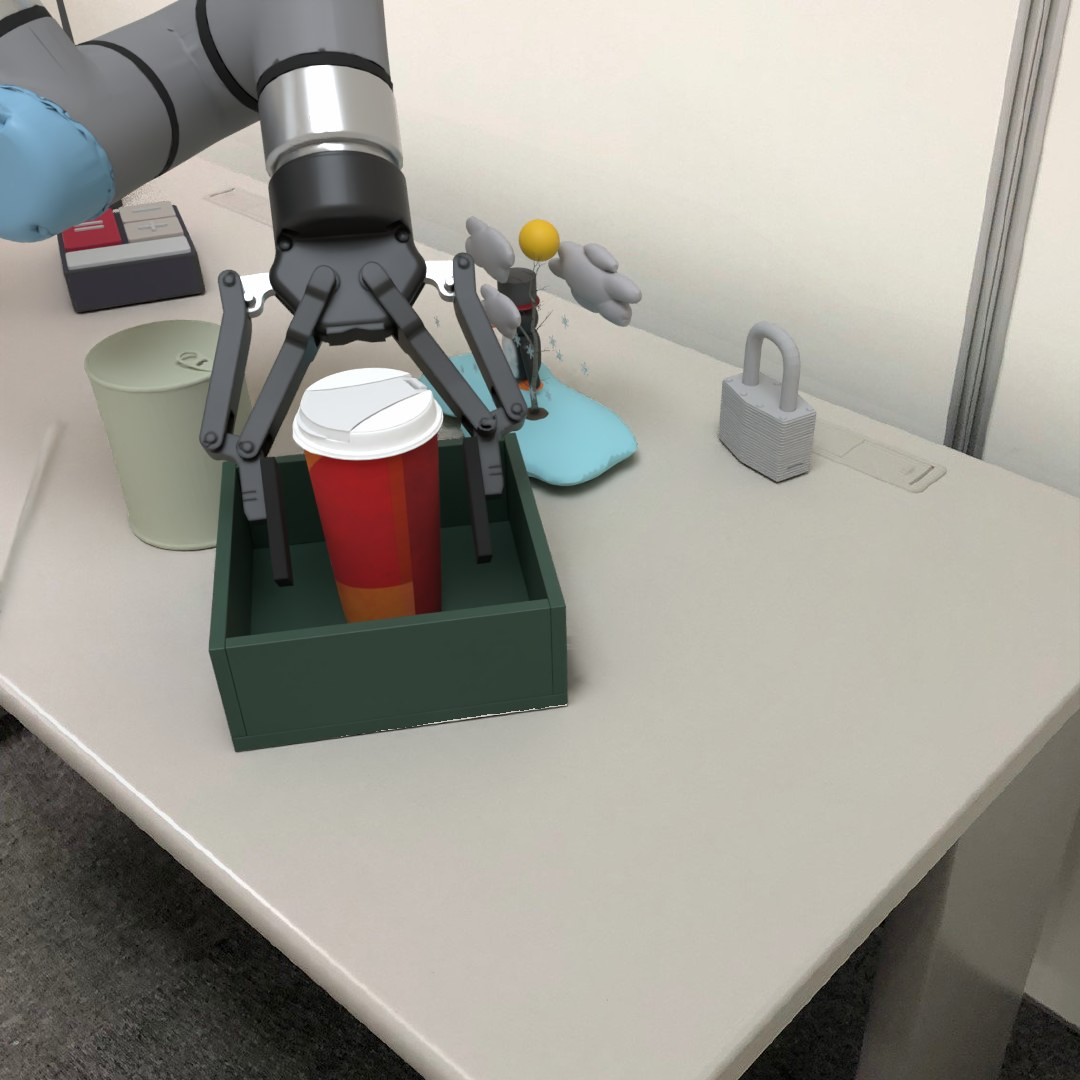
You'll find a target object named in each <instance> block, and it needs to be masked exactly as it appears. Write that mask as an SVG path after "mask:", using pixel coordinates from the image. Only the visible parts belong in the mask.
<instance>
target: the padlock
mask: <svg viewBox="0 0 1080 1080" xmlns="http://www.w3.org/2000/svg"><path fill="white" fill-rule="evenodd" d="M765 339H767V340H769V341H771V342H772V343H773V344H774V345H775V346H776V347H777V348H778V350H779V352H780V354H781V357H782V379H781V380H782V381H780V380H777V379H775V378H773V377H771V376H770V375H768V374H766V373H763V372H762V371H760V368H761V359H762V358H761V357H762V350H763V349H762V347H763V345H764V340H765ZM800 355H801V354H800V351H799V348H798V345H797V343H796V341H795V339H794V337H793V336H792V335H791V334H789V332H788V331H787V330H786V329H785V328H783V327H782V326H781V325H779V324H777V323H775V322H772V321H766V320H761V321H758V322H757V323H754V324H753V325H752V326H751V327H750V329H749V331H748V333H747V336H746V341H745V347H744V359H743V368H742V369H743V372H741V373H737V374H734V375H731V376H727V377H724V378H723V379H722V381H721V382H722V383H721V396H720V409H719V410H720V411H719V424H718V436H717V437H718V439H719V440H720V442H722V443H723V444H724V446H725V447H727V449H729V451H730V452H731V453H732V454H733V455H734V457H735V458H737V460H738V461H739V462H741V463H742V464H744V465H746V466H748V467H750V468H751V469H753V470H755V471H757V472H759V473H760V474H762V475H764V476H765V477H767V478H769V479H771V480H772V481H773V482H777V483H779V482H782V481H784V480H787V479H791V478H793V477H796V476H799V475H801V474H804V473H807V472H809V471H810V468H811V467H810V466H811V460H812V459H811V458H812V452H813V446H814V443H813V442H814V437H815V428H816V427H815V426H816V422H817V410H816V409H815V407H813V406H812V405H811V404H810V403H809V402H808V401H806V400H805V398H803V397H802V396H801V395H800V394H799V385H800V378H801V377H800V376H801V362H802V361H801V356H800Z"/></svg>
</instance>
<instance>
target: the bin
mask: <svg viewBox="0 0 1080 1080" xmlns="http://www.w3.org/2000/svg"><path fill="white" fill-rule="evenodd" d="M463 438H464V437H458V438H447V439H438V460H439V495H440V531H441V577H442V602H441V612H435V613H427V614H419V615H411V616H403V617H395V618H387V619H378V620H370V621H362V622H354V623H347V621H346V618H345V615H344V612H343V608H342V604H341V601H340V597H339V593H338V589H337V585H336V581H335V577H334V573H333V569H332V565H331V561H330V557H329V553H328V549H327V544H326V540H325V536H324V532H323V528H322V524H321V520H320V515H319V511H318V507H317V503H316V499H315V495H314V490H313V486H312V482H311V478H310V474H309V470H308V465H307V461H306V457H305V453H298V454H288V455H277V456H276V455H275V456H274V457H275V459H276V461H277V463H278V465H279V467H280V470H281V479H282V488H283V496H284V505H285V514H286V522H287V531H288V539H289V548H290V557H291V565H292V574H293V582H294V586H286V587H279V586H278V585H277V584H276V582H275V581H274V580H273V571H272V562H271V554H270V545H269V536H268V527H267V524H264V525H254V526H253V525H252V524H251V523H250V521H249V520H248V518H247V516H246V514H245V513H244V507H243V498H242V489H241V480H240V471H239V466H238V465H237V464H235V463H233V462H229V461H227V462H223V463H222V477H221V490H220V503H219V517H218V530H217V543H216V546H215V558H214V560H215V561H214V570H213V571H214V572H213V582H212V583H213V585H212V598H211V609H210V611H211V613H210V625H209V637H208V650H207V651H208V654H209V658H210V662H211V665H212V669H213V673H214V677H215V681H216V685H217V688H218V692H219V696H220V700H221V704H222V708H223V712H224V716H225V719H226V723H227V726H228V727H227V728H228V731H229V734H230V737H231V743H232V746H233V750H234V751H235V752H237V753H238V752H243V751H244V752H245V751H252V750H258V749H266V748H274V747H281V746H288V745H295V744H302V743H308V742H309V741H310V742H317V741H322V740H321V739H325V740H330V739H329V738H332V739H338V738H337V737H339V738H342V737H341V736H346V735H354V736H358V735H357V734H361V735H364V734H363V733H368V734H373V733H372V732H375V733H377V732H376V731H381V730H388V729H397V728H405V727H412V726H417V725H423V724H428V723H434V722H441V721H447V720H453V719H461V718H467V717H476V716H481V715H487V714H500V713H506V712H511V711H519V710H520V711H524V710H529V709H533V708H535V709H541V708H545V707H549V706H558V705H565V704H567V703H568V704H569V694H568V692H569V691H568V690H569V689H568V686H569V685H568V684H569V683H568V642H567V641H568V639H567V638H568V637H567V636H568V635H567V605H566V601H565V598H564V594H563V590H562V588H561V584H560V581H559V577H558V574H557V570H556V567H555V563H554V560H553V556H552V552H551V549H550V546H549V542H548V540H547V536H546V532H545V529H544V526H543V521H542V519H541V515H540V511H539V508H538V505H537V501H536V498H535V494H534V491H533V487H532V484H531V481H530V477H529V476H528V474H527V470H526V467H525V463H524V460H523V456H522V453H521V449H520V446H519V443H518V439H517V436H516V433H508V434H506V435H504V436H502V437H501V438H500V439H499V450H500V457H501V465H502V472H503V479H504V487H503V491H502V494H501V498H500V499H496V500H486V506H487V514H488V521H489V529H490V536H491V544H492V551H493V556H492V559H491V562H490V563H483V564H477V562H476V555H475V547H474V539H473V532H472V524H471V517H470V509H469V501H468V494H467V486H466V479H465V471H464V463H463V456H462V444H463ZM412 728H413V727H412ZM405 729H406V728H405ZM397 730H398V729H397ZM346 737H347V736H346ZM310 742H309V743H310Z"/></svg>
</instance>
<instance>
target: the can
mask: <svg viewBox="0 0 1080 1080" xmlns="http://www.w3.org/2000/svg"><path fill="white" fill-rule="evenodd" d="M220 326H221V324H218V323H215V322H209V321H205V320H197V319H169V320H161V321H160V320H159V321H153V322H146V323H142V324H138V325H135V326H132V327H128V328H124V329H123V330H120V331H118V332H117V331H116V332H115V333H112V334H110V335H108V336H107V337H105V338H104V339H102V340H100V341H99V342H98V343H96V344H95V345H94V346H93V347H92V348H91V349H90V350H89V351H88V353H87V354H86V355H85V358H84V371H85V373H86V375H87V377H88V380H89V382H90V386H91V389H92V392H93V395H94V399H95V402H96V405H97V408H98V411H99V415H100V418H101V421H102V425H103V428H104V431H105V434H106V439H107V441H108V442H107V443H108V445H109V449H110V452H111V456H112V459H113V462H114V465H115V469H116V473H117V477H118V480H119V484H120V488H121V491H122V494H123V498H124V501H125V505H126V510H127V515H128V517H127V519H128V525H129V527H130V530H131V531H132V533H133V534H134V535H135V536H136V537H137V538H138V539H139V540H141V541H142V542H144V543H146V544H148V545H151V546H152V547H156V548H160V549H165V550H171V551H196V550H199V551H200V550H205V549H210V548H216V543H217V530H218V517H219V503H220V490H221V477H222V463H223V462H227V461H225V460H214V459H212V458H211V457H210V456H209V455H208V454H207V452H206V451H205V450H204V448H203V447H202V445H201V444H200V441H199V434H200V429H201V424H202V419H203V414H204V409H205V404H206V398H207V393H208V388H209V383H210V378H211V373H212V367H213V362H214V357H215V352H216V347H217V342H218V337H219V331H220ZM252 409H253V407H252V403H251V397H250V391H249V387H248V382H247V375H246V374H245V375H244V380H243V385H242V391H241V396H240V401H239V406H238V412H237V417H236V422H235V427H234V433H233V434H234V435H238V436H240V435H241V432H242V430H243V428H244V426H245V424H246V422H247V420H248V418H249V415H250V413H251V411H252Z"/></svg>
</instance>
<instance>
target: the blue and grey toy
mask: <svg viewBox="0 0 1080 1080" xmlns="http://www.w3.org/2000/svg"><path fill="white" fill-rule="evenodd" d="M465 229H466V231H467V234H468V235H470V236H468V237H467V238H466V240H465V242H464V248H465V253H468V254H470V255H471V256H472V257H473V259H474V263H475V265H476V266H477V267H479V268H482V269H483V270H484V271H485V273H486V274H487V275H488V276H490V277H491V278H492V279H493V280H495V281H496V287H497V289H496V288H495V287H494V286H492V285H490V284H488V283H484V284H482V285H480V289H479V292H480V295H481V297H482V298H483V299H482V300H480V301H481V303H482V306H483V308H484V310H485V312H486V315H487V317H488V319H489V321H490V323H491V326H492V328H493V329H494V328H495V329H496V330H497V331H498V332H499V333H500V334H501V335H502V336H501V348H502V350H503V353H504V355H505V357H506V359H507V361H508V364H509V366H510V368H511V370H512V373H513V375H514V377H515V379H516V382H517V384H518V386H519V388H520V391H521V393H522V395H523V397H524V399H525V402H526V404H527V407H528V412H527V416H526V419H525V422H524V425H523V427H522V428H521V429H520V430H518V431H512V432H510V433H516V436H517V439H518V443H519V446H520V449H521V453H522V456H523V460H524V463H525V467H526V470H527V474H528V477H529V478H535V479H537V480H540V481H542V482H544V483H547V484H549V485H553V486H560V487H569V486H575V485H580V484H584V483H586V482H588V481H591V480H594V479H595V478H597V477H599V476H601V475H602V474H604V473H605V472H607V471H608V470H609V469H611V468H612V467H614V466H615V465H617V464H618V463H620V462H622V461H624V460H626V459H628V458H629V457H631V456H633V455H634V454H635V452H636V451H637V450H638V442H637V439H636V437H635V435H634V434H633V431H632V430H631V429H630V427H629V426H628V425H627V424H626V423H625V422H624V420H623V419H622V418H621V417H620V416H619V415H618V414H617V413H616V412H615V411H613V410H612V409H610V408H608V407H607V406H605V405H604V404H602V403H600V402H598V401H596V399H595V400H594V399H593V398H591V397H589V396H587V395H584V394H582V393H580V392H579V391H577V390H575V389H573V388H571V387H570V386H568V385H566V384H564V383H563V382H561V380H559V379H558V378H557V377H556V376H555V375H554V373H553V372H552V370H551V369H550V368H549V367H548V366H547V365H546V364H545V363H544V362H542V353H543V352H549V349H548V348H550V347H547V350H546V349H544V350H542V340H541V338H540V334H539V332H538V330H539V328H541V327H542V326H544V322H545V321H547V319H548V318H549V316H550V315H551V313H552V312H553V310H554V309H552V311H551V312H549V313H548V314H547V315H546V316H545V319H544V320H543V321H542V322H541V323H540V325H539V311H540V310H542V308H541V307H542V306H543V305H545V303H543V302H544V300H543V301H541V299H540V297H539V296H538V292H539V291H543V290H544V291H545V288H546V287H549V285H548V286H544V287H543V288H540V289H538V288H537V275H538V271H539V269H540V267H541V266H542V264H541V265H540V264H539V263H541V262H545V263H544V265H546V264H547V267H548V269H549V270H550V272H551V273H552V274H553V275H554V276H555V277H557V278H560V279H562V280H565V283H566V285H567V286H568V287H569V289H570V293H571V296H572V297H573V299H574V300H575V301H576V303H577V304H578V305H579V306H581V308H584V309H586V310H587V311H589V312H591V313H594V314H599V315H600V316H601V317H602V318H603V319H605V320H606V321H608V322H609V323H612V324H613V325H615V326H618V327H621V328H625V327H629V325H630V323H631V321H632V316H633V310H632V307H631V305H637V304H638V303H640V302H641V301H642V299H643V294H642V291H641V289H640V287H639V286H638V285H637V284H636V283H635V282H634V281H633V280H632V279H630V277H628V276H626V275H625V274H623V273H620V272H618V269H619V262H618V260H617V258H615V256H614V255H613V254H612V253H611V252H610V251H609V250H608V249H607V248H605V247H604V246H603V245H601V244H598V243H595V242H590V243H589V242H588V243H586V244H584V245H581V244H579V243H577V242H575V241H570V240H569V241H568V240H563V241H561V239H560V238H561V237H560V234H559V231H558V230H557V228H556V227H555V225H553V224H552V222H549V221H548V220H545V219H540V218H537V219H532V220H529V221H528V222H526V223H525V224H524V225H523V226H522V227H521V229H520V231H519V234H518V245H519V248H520V251H521V253H522V254H523V255H524V256H525V257H526V258H528V259H529V260H531V261H533V268H532V269H531V268H527V267H520V266H519V267H518V266H516V267H513V266H514V265H515V261H516V256H515V251H514V248H513V246H512V245H511V243H510V241H509V240H508V239H507V238H506V236H505V235H504V234H503V233H502V232H501V231H499V230H498V229H497V228H495V227H492V226H491V225H489V224H488V223H486V222H485V221H483V220H481V219H479V218H477V217H476V216H470V217H468V218H467V219H466V220H465ZM556 254H557V256H558V257H555V256H556ZM535 262H536V265H535ZM536 266H538V267H537V268H536ZM535 268H536V271H535ZM541 303H543V304H541ZM561 318H562V321H561V324H562V325H564V328H565V329H567V327H569V325H568V322H569V319H567V316H566V314H564V316H563V315H561ZM434 319H435V321H434V324H436V326H437V328H440V327H441V326H440V320H439V319H438V316H437V315H436V317H435V316H434ZM537 326H538V327H537ZM548 337H549V340H550V341H549V344H551V345H552V349H553V352H556V353H557V359H558V360H559V361H558V362H559V363H561V362H563V356H564V355H563V354H561V350H560V349H558V350H557V345H556V342H557V340H555V339H554V335H550V336H548ZM555 348H556V349H555ZM554 349H555V350H554ZM448 358H449V359H450V360H451V362H452V363H453V364H454V365H455V367H456V368H457V369H458V371H459V372H460V373H461V375H462V376H463V377H464V378H465V380H466V381H467V382H468V384H469V385H470V386H471V388H472V389H473V390H474V391H475V393H476V394H477V395H478V397H479V398H480V399H481V401H482V402H483V403H484V404H485V406H486V407H487V408H488V410H489V411H490V412H491V411H493V410H495V409H497V408H496V406H495V404H494V401H493V399H492V397H491V395H490V392H489V390H488V388H487V386H486V383H485V381H484V379H483V377H482V375H481V372H480V370H479V368H478V366H477V363H476V361H475V359H474V357H473V354H472V352H471V353H463V354H459V355H454V356H451V357H448ZM588 370H589V368H588V366H587V365H586V362H583V365H581V370H580V371H582V372H583V373H584V374H583V375H584V376H585V377H586V376H589V372H588ZM418 380H419V381H420V382H421V383H423V384H424V385H425V386H426V387H427V388H426V389H427V390H430V391H432V394H433V397H434V399H435V400H436V401H437V403H438V404H439V406H440V407H441V409H442V412H443V415H447V416H450V417H453V418H457V417H456V416H455V415H454V413H453V412H452V411H451V410H450V408H449V407H448V406H447V404H446V403H445V402H444V401H443V399H442V398H441V397H440V395H439V394H438V393H437V391H436V390H435V389H434V388H433V386H432V385H431V384H430V382H429V381H428V380H427V378H426V377H425V376H424V375H423V373H421V375H420V377H419V379H418ZM460 430H461V431H462V434H463V436H464V437H471V436H470V434H469V433H468V432H467V430H466V429H465V428H464V426H463V425H462V424H461V423H460Z"/></svg>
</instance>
